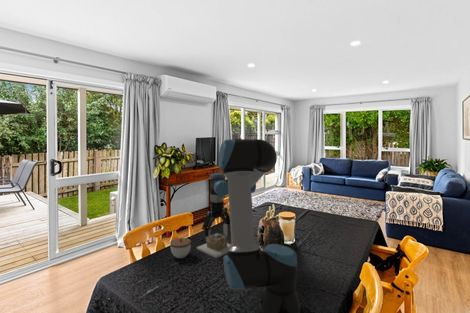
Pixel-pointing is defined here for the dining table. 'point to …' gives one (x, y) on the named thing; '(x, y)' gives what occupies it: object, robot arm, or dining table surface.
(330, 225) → the dining table surface
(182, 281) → the dining table surface
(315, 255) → the dining table surface
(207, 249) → the post block
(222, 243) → the collar
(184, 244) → the lidded jar
